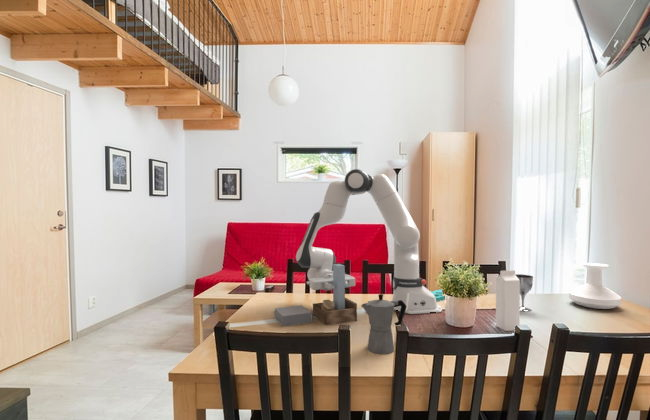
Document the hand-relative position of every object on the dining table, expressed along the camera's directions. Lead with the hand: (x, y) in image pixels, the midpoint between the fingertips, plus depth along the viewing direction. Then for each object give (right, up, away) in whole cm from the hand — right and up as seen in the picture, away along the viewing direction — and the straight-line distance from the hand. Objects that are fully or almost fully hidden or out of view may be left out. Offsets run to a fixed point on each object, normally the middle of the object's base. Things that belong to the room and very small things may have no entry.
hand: (339, 286), depth 156 cm
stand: (-19, -13, -3) cm, 24 cm away
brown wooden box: (-2, -13, 0) cm, 13 cm away
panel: (0, -13, +1) cm, 13 cm away
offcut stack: (-5, -13, -1) cm, 14 cm away
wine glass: (+83, -13, +13) cm, 85 cm away
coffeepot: (+13, -14, -33) cm, 38 cm away
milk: (+63, -13, -13) cm, 66 cm away
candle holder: (+119, -13, +18) cm, 121 cm away
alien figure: (+56, -13, +34) cm, 67 cm away
